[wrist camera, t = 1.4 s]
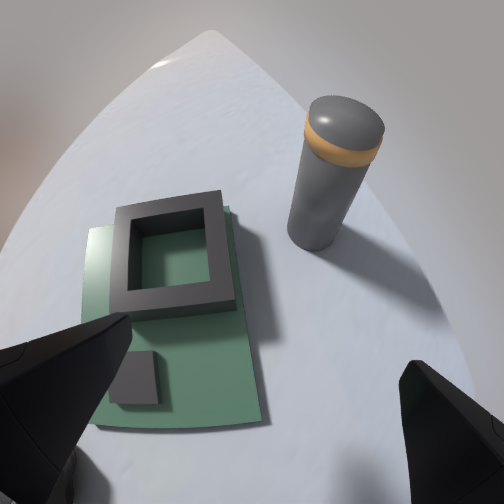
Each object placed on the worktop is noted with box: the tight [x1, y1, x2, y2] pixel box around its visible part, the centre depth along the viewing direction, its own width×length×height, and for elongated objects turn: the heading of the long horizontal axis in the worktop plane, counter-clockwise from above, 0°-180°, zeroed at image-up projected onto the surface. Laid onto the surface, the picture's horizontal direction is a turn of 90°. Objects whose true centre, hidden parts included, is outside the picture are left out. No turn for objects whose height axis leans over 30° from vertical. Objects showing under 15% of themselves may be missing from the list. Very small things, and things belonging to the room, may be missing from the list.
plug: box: [287, 96, 385, 251], centre depth 19 cm, size 5×5×12 cm
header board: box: [81, 190, 262, 428], centre depth 19 cm, size 18×14×4 cm
